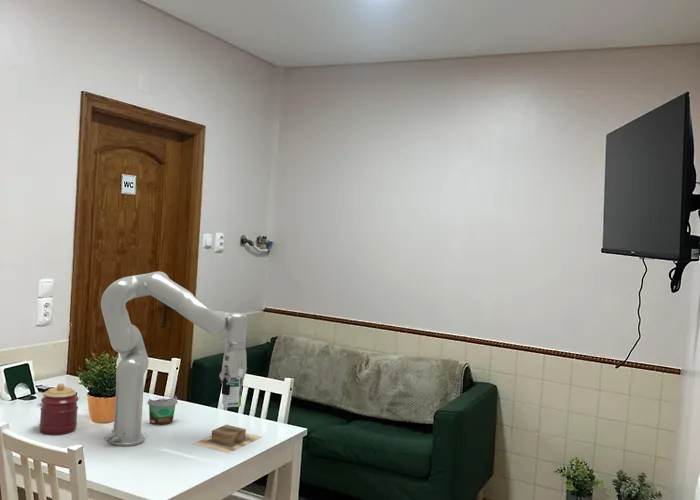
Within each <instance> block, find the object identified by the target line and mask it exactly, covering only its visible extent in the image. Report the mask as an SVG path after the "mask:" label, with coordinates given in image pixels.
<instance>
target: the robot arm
mask: <svg viewBox="0 0 700 500" xmlns="http://www.w3.org/2000/svg"><path fill="white" fill-rule="evenodd" d="M147 296H152V297H153V298H155V299H157V300H158V301H159V302H161V303H163V304H165V305H166V306H167V307H170V308H171V309H173V310H174V311H176V312H177V313H179V315H181V316H183V318H185V319H187V320H188V321H190V323H192V324H193V325H195V326H197V327H198V328H200V329H202V330H204V331H205V332H207V333H209V334H211V335H217V334H218V335H220V334H221V333H222V332H223V331H225V343H224V353H223V359H222V366H221V371H220V373H219V375H218V376H219V378H220V381H221V382H220V383H221V395H223V394H224V395H229V394H230V384H229V383H230V380H231V378H236V377H238V373H239V368H243V379H242V389H243V388H244V387H243V386H244V385H243V384H244V380H245V375H246V373H247V370H248V367H247V365H248V364H247V349H246V343H247V342H246V341H247V327H248V326H247V325H248V315H247V314H246V313H243V312H227V311H222V310H212V309H210V308H208V307H207V306H205V305H204V304H203V303H201V302H200V301H199V299H197V298H196V297H195V295H194V294H193V293H192V292H191V291H190V290H188V289H186V288H185V287H183V286H181V285H180V284H178V283H176V281H173V280H172V279H171V278H170V277H169V275H167V273H165V272H164V271H152V272H149V273H143V274H136V275H129V276H123V277H121V278H119V279H117V280H115V281H113V282H112V283H111V284H110V285H109V286H107V288H106V289H105V290H104V292H103V293H102V295H101V300H100V308H101V313H102V316H103V321H104V324H105V329H106V331H107V332H106V333H107V334H108V337H109V343H110V345H111V348H112V349H113V350H114V351H115V352H116V353H118V354H119V355H120V358H121V359H120V361H119V362H118V364H117V366H116V370H115V371H116V372H115V387H116V388H115V404H114V416H113V417H114V419H113V429H112V430H111V433H110V434H107V435H105V436H103V441H104V442H108V443H109V444H111V445H113V446H119V447H129V446H137V445H140V444H142V443H144V442H145V435H143V434H142V432H141V431H142V430H141V429H142V418H143V417H142V416H143V405H144V404H143V402H144V378H145V377H144V376H145V373H146V371H147V370H148V368H149V365H150V362H149V356H148V353H147V349H146V346H145V342H144V338H143V336H142V333H141V331H140V330H139V328H138V327H137V326H136V325H134V324H133V323H132V322H131V319H130V315H129V312H128V310H127V308H126V305H127V304H126V303H128V301H131V300H132V299H136V298H142V297H147ZM227 374H228V375H229V376H227ZM226 378H228V380H226Z"/></svg>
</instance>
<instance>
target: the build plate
mask: <svg viewBox="0 0 700 500" xmlns="http://www.w3.org/2000/svg"><path fill="white" fill-rule="evenodd" d="M211 438H212V435H210V436H208V437H206V438H203V439H201V440H198V441H196V442H194V443H192V445H195V446H198V447H203V448H204V447H205V448H208V449H212V450H215V451H219V452H223V453H227V454H230V453H232V452H235V451H236V450H238V449H240V448H242V447H244V446H247V445H249V444H251V443H253V442H255V441H257V440H260V439H261V438H262V436H259V435H255V434H251V433H246V434H245V440H243V441H241V442H239V443H237V444H235V445H232V446H230V445H226V444H222V443H218V442H214V441H211Z"/></svg>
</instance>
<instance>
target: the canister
mask: <svg viewBox="0 0 700 500" xmlns="http://www.w3.org/2000/svg"><path fill="white" fill-rule="evenodd" d="M43 393H44V395H45V397H43V396H42V398H41V399H40V401H41V403H42V404H41V407H40V418H39V419H40V420H39V425H38V426H39V432H40V433H42V434H44V435H52V436H53V435H54V436H58V435H66V434H71V433H73V432H75V431H76V430H77V425H78V422H77V421H78V409H79V406H78V401H79V397H78V396H77V391H76V390H74V389H73V388H72V387H67V386H65V384H64V383H58V384H57V386H56V387H51V388H49V389H48V390H45V391H44V392H43Z"/></svg>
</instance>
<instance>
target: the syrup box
mask: <svg viewBox="0 0 700 500" xmlns="http://www.w3.org/2000/svg"><path fill="white" fill-rule="evenodd" d="M227 376H229V375H228V374H227ZM242 379H243V368H239V373H238V377H236V378H231V380H230V383H229V384H230V394H229V395H224V394H222V399H221V401H222V402H221V403H222V405H223V406H224V407H225V408H232V407H233V408H236V407H238V408H239V407H241V406H242V393H243V392H242V391H243V388H242ZM226 380H228V378H226Z"/></svg>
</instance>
